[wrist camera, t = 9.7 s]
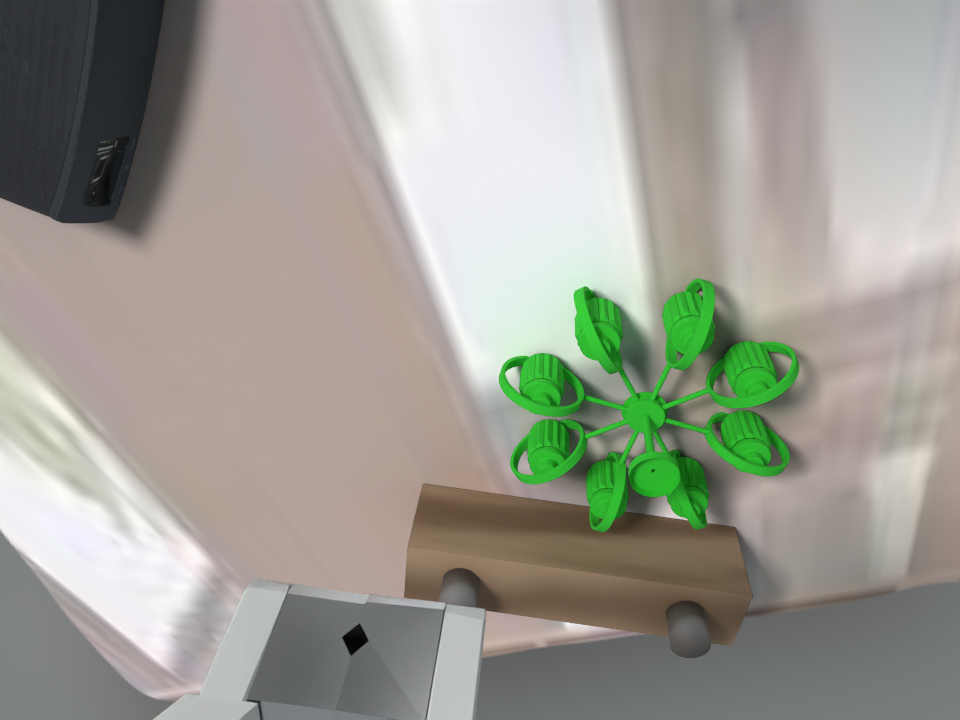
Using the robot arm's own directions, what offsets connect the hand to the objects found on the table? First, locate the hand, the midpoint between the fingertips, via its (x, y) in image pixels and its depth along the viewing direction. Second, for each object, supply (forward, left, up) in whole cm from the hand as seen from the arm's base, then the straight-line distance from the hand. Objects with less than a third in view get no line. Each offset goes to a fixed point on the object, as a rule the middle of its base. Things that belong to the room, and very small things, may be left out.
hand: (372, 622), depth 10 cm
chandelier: (+14, +9, -28) cm, 32 cm away
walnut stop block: (+24, +7, -27) cm, 37 cm away
